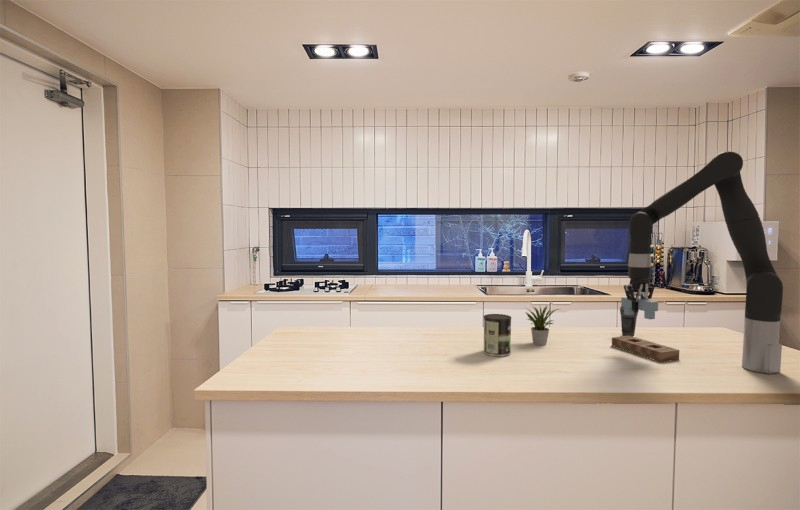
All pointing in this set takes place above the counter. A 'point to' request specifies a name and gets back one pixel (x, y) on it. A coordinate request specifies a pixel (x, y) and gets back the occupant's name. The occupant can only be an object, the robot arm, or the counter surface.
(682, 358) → the counter surface
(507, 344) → the coffee can
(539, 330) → the house plant
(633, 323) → the beverage cup
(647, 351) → the brown wooden slab
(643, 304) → the grey bridge block
